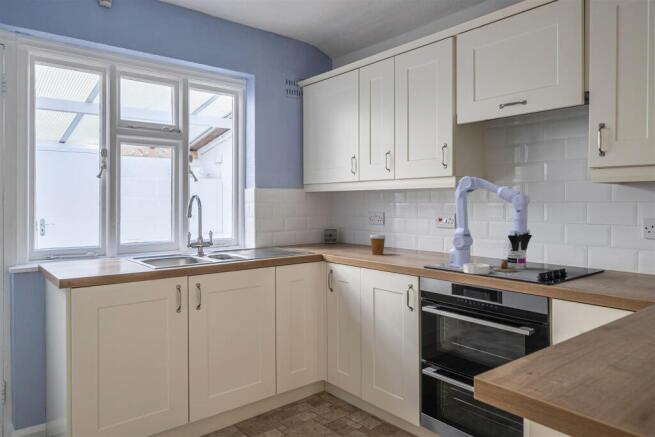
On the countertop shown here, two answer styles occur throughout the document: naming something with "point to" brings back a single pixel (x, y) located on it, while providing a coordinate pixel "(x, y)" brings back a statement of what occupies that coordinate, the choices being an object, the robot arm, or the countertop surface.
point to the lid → (504, 267)
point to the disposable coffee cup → (377, 243)
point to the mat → (503, 272)
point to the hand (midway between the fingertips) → (519, 250)
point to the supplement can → (516, 257)
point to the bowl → (476, 268)
